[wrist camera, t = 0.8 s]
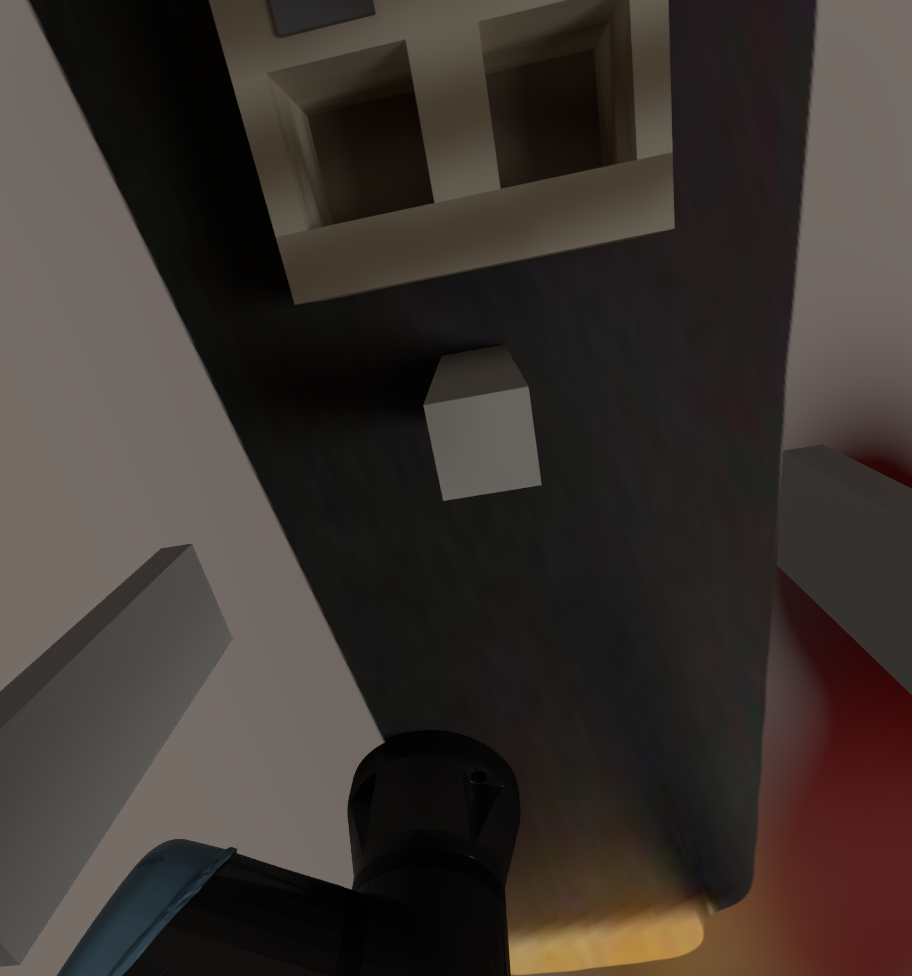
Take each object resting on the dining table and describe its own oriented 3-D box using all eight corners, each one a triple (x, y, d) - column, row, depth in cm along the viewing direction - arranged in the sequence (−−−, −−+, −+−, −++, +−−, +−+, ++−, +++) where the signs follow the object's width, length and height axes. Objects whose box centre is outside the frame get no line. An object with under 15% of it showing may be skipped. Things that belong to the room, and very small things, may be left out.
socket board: (629, 239, 30) (676, 227, 23) (330, 299, 31) (292, 304, 25) (610, -105, 24) (665, -253, 18) (250, -12, 26) (174, -115, 19)
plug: (513, 406, 34) (541, 485, 21) (452, 417, 34) (443, 501, 21) (504, 344, 32) (528, 386, 19) (441, 356, 33) (423, 405, 20)
